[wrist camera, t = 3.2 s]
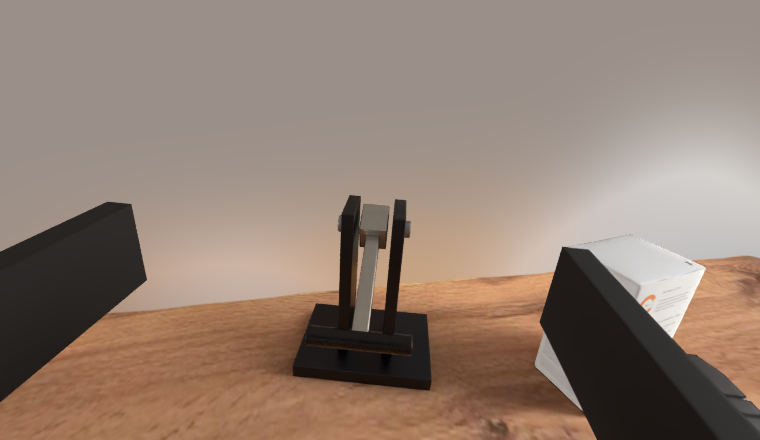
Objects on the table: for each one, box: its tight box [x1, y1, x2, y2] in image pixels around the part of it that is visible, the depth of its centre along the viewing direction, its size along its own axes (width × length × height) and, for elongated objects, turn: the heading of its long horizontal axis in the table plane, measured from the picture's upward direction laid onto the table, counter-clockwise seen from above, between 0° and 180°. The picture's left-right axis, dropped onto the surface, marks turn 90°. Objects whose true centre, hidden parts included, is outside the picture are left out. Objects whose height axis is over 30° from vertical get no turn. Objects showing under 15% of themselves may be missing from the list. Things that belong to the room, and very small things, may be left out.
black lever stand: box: [293, 195, 432, 390], centre depth 34 cm, size 9×12×15 cm
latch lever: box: [305, 204, 413, 356], centre depth 28 cm, size 12×7×2 cm, turn 176°
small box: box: [535, 235, 705, 411], centre depth 32 cm, size 8×6×13 cm
